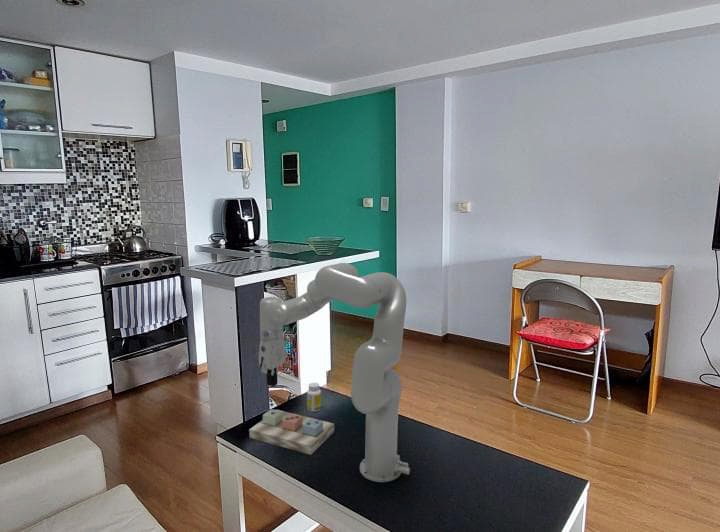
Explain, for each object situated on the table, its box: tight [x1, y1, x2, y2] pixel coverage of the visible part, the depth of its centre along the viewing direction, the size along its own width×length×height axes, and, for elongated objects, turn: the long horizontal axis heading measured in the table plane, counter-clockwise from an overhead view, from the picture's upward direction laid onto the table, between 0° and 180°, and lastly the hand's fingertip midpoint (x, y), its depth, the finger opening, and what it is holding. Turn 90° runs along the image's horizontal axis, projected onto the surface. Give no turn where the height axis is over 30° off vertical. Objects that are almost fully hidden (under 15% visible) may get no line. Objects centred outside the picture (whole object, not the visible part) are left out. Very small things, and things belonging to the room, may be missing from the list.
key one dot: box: [262, 408, 283, 426], centre depth 160 cm, size 5×5×3 cm
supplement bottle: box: [306, 382, 322, 413], centre depth 176 cm, size 5×5×10 cm
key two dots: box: [302, 418, 323, 437], centre depth 154 cm, size 5×5×3 cm
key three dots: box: [282, 413, 303, 431], centre depth 157 cm, size 5×5×3 cm
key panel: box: [248, 409, 335, 456], centre depth 158 cm, size 24×16×3 cm, turn 66°
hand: (272, 384), depth 158 cm, fingers closed
